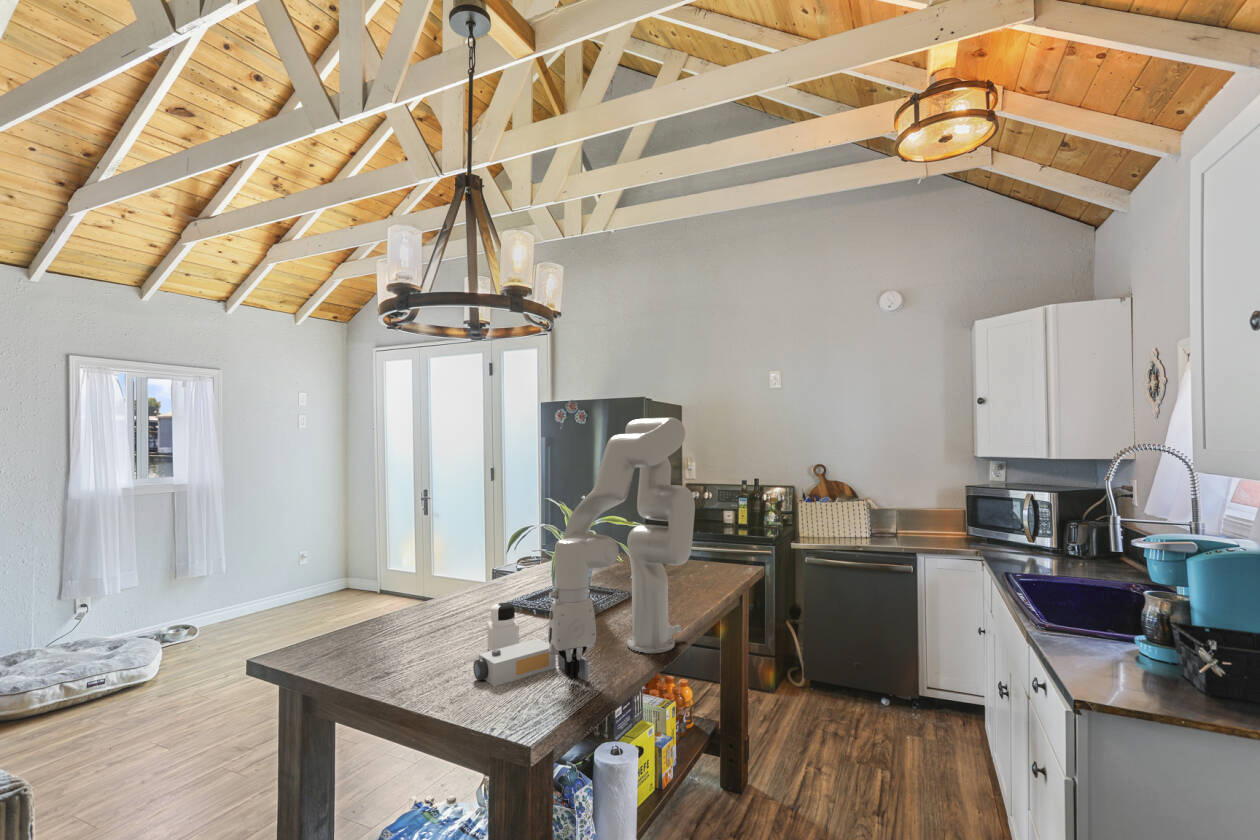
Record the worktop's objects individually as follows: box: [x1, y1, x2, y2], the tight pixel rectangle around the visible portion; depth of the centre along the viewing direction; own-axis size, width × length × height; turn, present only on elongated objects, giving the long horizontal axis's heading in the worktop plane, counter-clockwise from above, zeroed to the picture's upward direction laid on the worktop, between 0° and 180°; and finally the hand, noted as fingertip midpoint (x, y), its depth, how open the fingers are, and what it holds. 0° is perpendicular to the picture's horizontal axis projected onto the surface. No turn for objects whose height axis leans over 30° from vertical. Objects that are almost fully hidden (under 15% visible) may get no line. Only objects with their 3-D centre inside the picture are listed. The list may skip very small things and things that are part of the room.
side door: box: [557, 650, 590, 681], centre depth 138 cm, size 12×1×5 cm, turn 39°
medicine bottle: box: [486, 602, 520, 651], centre depth 154 cm, size 7×7×12 cm
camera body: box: [472, 638, 557, 687], centre depth 139 cm, size 18×8×6 cm, turn 130°
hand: (571, 677), depth 132 cm, fingers closed
